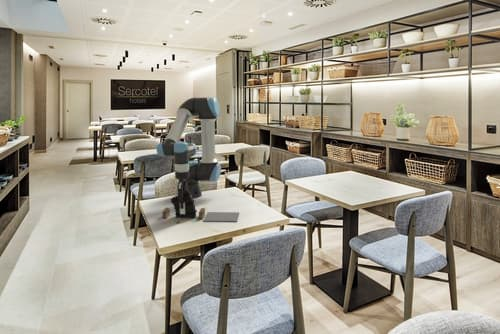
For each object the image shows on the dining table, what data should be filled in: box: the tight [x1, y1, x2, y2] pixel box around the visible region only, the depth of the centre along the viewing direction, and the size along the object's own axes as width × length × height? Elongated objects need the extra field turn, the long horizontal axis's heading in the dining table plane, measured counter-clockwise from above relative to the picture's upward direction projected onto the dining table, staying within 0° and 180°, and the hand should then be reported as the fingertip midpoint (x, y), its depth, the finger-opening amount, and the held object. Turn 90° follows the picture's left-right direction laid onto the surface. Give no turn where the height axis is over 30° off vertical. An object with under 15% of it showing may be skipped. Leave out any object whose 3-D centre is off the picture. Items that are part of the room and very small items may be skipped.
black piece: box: [170, 190, 198, 219], centre depth 191 cm, size 4×13×15 cm, turn 85°
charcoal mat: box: [202, 211, 240, 223], centre depth 191 cm, size 14×18×1 cm
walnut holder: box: [161, 207, 206, 220], centre depth 192 cm, size 22×7×4 cm, turn 87°
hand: (183, 212), depth 192 cm, fingers open, 5 cm apart
